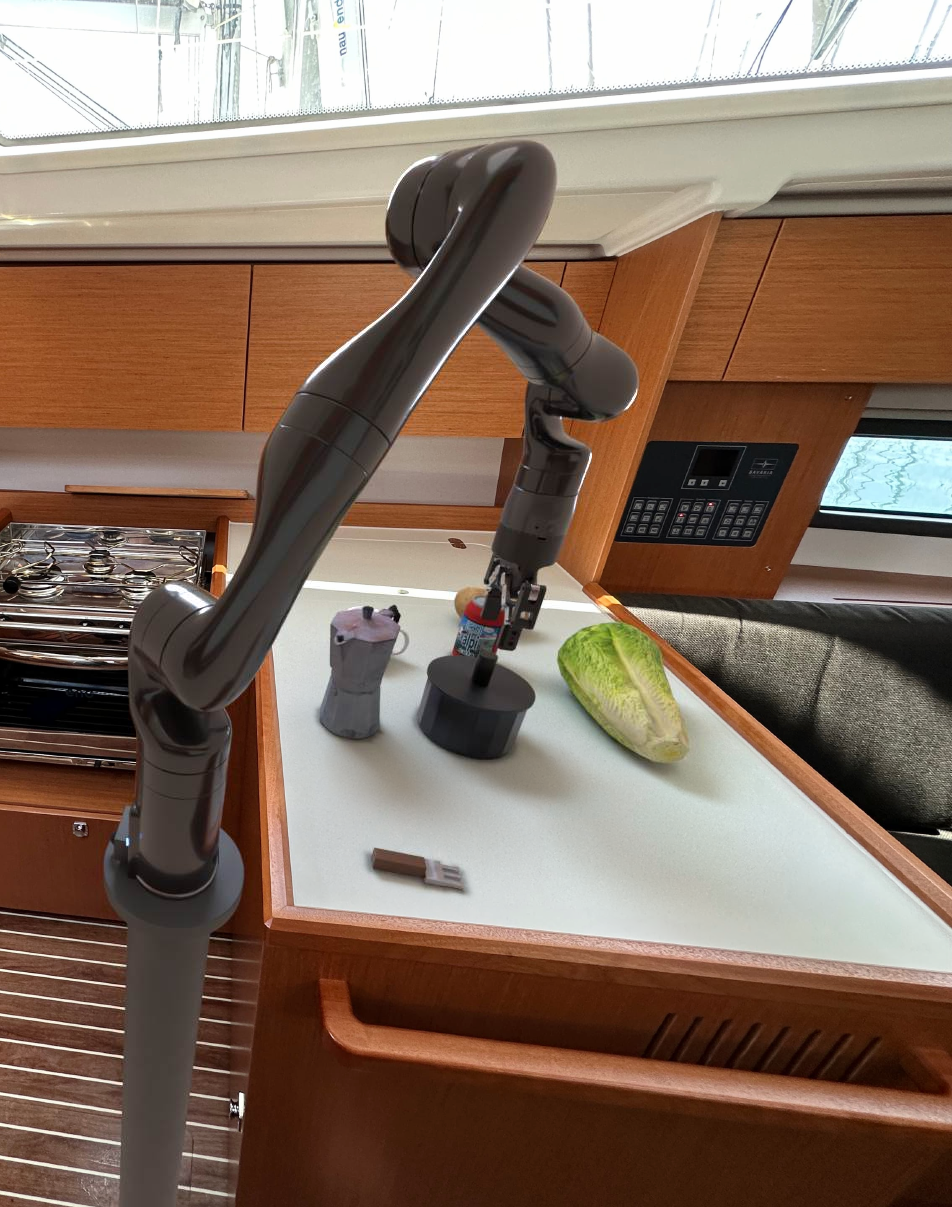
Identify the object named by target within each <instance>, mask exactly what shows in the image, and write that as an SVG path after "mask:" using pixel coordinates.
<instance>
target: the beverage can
mask: <svg viewBox="0 0 952 1207" xmlns="http://www.w3.org/2000/svg"><path fill="white" fill-rule="evenodd" d="M485 598H486V595H478V596H475V597H474V598H473V600H471V601H470V602H469V603H468V604H467V605H466V608H465V612H464V615H463V618H461V621H460V625H459V626H458V627H459V628H458V631H457V634H456V638H455V641H454V643H453V644H454V645H453V648H452V654H451V655H462V656H470V657H476V658H478V656H479V653H480V651H490V652H493V653H495V654H496V655H497V653H498V650H499V649H498V647H497V645H496V643H497V640H498V637H499V634H500V631H501V628H502V626H503V623H504V619H505V608H503V607H502V608H501V611H500V614H499V617H498V619H497V620H496V621H491V620H484V619H482V618H481V616H480V614H481V611H482V608H483V605H484V601H485Z"/></svg>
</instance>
